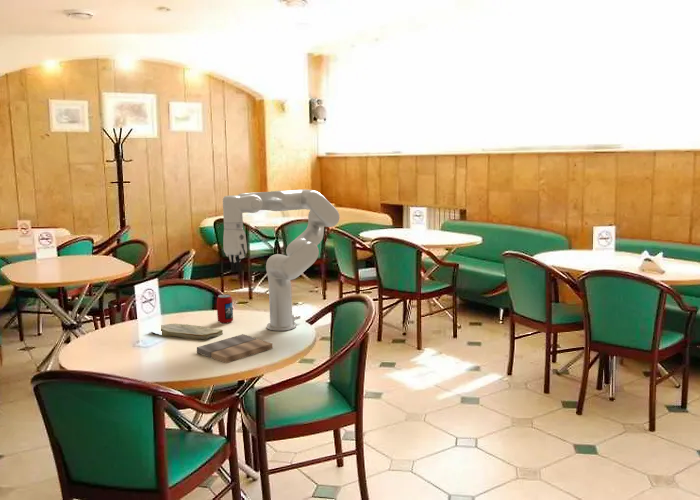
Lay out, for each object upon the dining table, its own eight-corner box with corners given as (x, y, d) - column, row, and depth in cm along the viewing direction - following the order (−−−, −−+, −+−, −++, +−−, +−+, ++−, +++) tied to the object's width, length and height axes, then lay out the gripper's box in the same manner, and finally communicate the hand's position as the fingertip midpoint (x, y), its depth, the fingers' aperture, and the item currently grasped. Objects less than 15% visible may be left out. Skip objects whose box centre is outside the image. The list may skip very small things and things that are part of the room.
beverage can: (231, 323, 284) (230, 297, 282) (216, 324, 284) (214, 297, 283) (234, 319, 291) (233, 293, 289) (219, 320, 291) (218, 294, 289)
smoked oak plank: (242, 338, 261) (242, 334, 260) (256, 343, 255) (256, 338, 255) (196, 352, 245) (196, 347, 244) (210, 357, 239) (210, 352, 239)
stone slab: (165, 320, 281) (223, 324, 269) (166, 330, 282) (224, 334, 270) (146, 327, 270) (206, 332, 258) (147, 337, 270) (206, 342, 259)
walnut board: (257, 343, 255) (257, 338, 254) (272, 348, 249) (272, 343, 248) (211, 357, 239) (211, 352, 238) (226, 362, 233) (226, 357, 232)
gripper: (252, 226, 256) (254, 272, 259) (229, 224, 266) (231, 268, 269) (237, 228, 251) (239, 275, 254) (214, 226, 261) (216, 270, 264)
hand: (235, 271), depth 261 cm, fingers closed
